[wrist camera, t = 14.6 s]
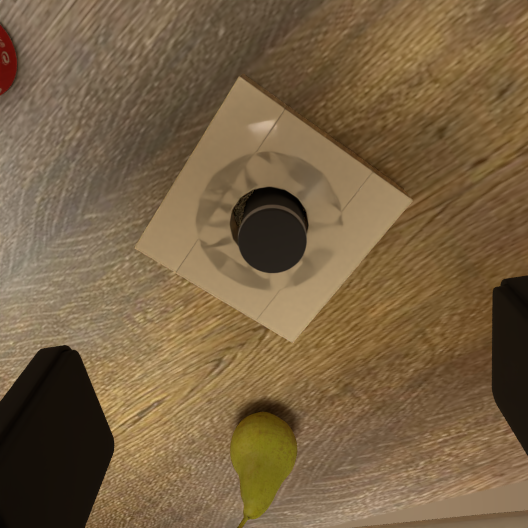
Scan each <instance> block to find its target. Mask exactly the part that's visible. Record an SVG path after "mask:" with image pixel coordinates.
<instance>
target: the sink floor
mask: <svg viewBox="0 0 528 528" xmlns="http://www.w3.org/2000/svg"><path fill="white" fill-rule="evenodd" d="M264 187H274V188H279V189H284V190H286V191H288V192H289V193H291V194H292V195H294V196H295V197H296V198H298V199H299V201H300V202H301V204H302V205H303V207H304V209H305V210H306V213H307V214H306V218H305V222H304V223H305V228H306V233H307V245H306V249H305V252H304V255H303V257H302V258H301V260H300V261H299V262H298V263H297V264H296V265H295V266H294V267H292V268H291V269H289V270H287V271H284V272H280V273H265V272H261V271H259V270H256V269H255V268H253V267H251V266H250V265H249V264H248V263H247V262H246V261H245V260H244V258H243V257H242V255H241V253H240V250H239V246H238V232H239V227H238V226H237V225H236V221H235V216H234V212H233V211H234V207H235V205H236V204H237V202H238V201H239V199H240V198H241V197H242V196H244V195H246V194H247V193H249V192H250V191H252V190H253V189H258V188H264ZM412 201H413V200H412V199H411V198H410V196H409V195H408V194H407V193H406V191H405V190H404V189H403V188H402V187H401V186H399V185H398V184H396V183H395V182H394V181H392V180H391V179H389V178H388V177H387V176H385V175H384V174H382V173H381V172H380V171H378V170H377V169H376V168H374V167H373V166H371V165H370V164H369V163H367V162H366V161H364V160H363V159H362V158H360V157H359V156H357V155H356V154H355V153H353V152H352V151H350V150H349V149H348V148H346V147H345V146H343V145H342V144H341V143H339V142H338V141H337V140H335V139H334V138H332V137H331V136H330V135H328V134H327V133H325V132H324V131H323V130H321V129H320V128H318V127H317V126H316V125H314V124H313V123H311V122H310V121H309V120H307V119H306V118H304V117H303V116H302V115H300V114H299V113H297V112H296V111H295V110H293V109H292V108H291V107H289V106H288V105H286V104H284V103H283V102H282V101H281V100H279V99H278V98H277V97H275V96H274V95H272V94H271V93H270V92H268V91H267V90H265V89H264V88H263V87H261V86H260V85H258V84H257V83H256V82H254V81H253V80H251V79H250V78H249V77H247V76H246V75H244V74H242V75H240V76H239V77H238V79H237V80H236V82H235V83H234V85H233V87H232V88H231V90H230V92H229V93H228V95H227V97H226V98H225V100H224V101H223V103H222V105H221V106H220V108H219V110H218V111H217V113H216V115H215V116H214V118H213V119H212V121H211V123H210V124H209V126H208V128H207V129H206V131H205V133H204V134H203V136H202V137H201V139H200V141H199V142H198V144H197V146H196V147H195V149H194V151H193V152H192V154H191V155H190V157H189V159H188V160H187V162H186V164H185V165H184V167H183V169H182V170H181V172H180V173H179V175H178V177H177V178H176V180H175V182H174V183H173V185H172V186H171V188H170V190H169V191H168V193H167V195H166V196H165V198H164V200H163V201H162V203H161V204H160V206H159V208H158V209H157V211H156V213H155V214H154V216H153V218H152V219H151V221H150V222H149V224H148V226H147V227H146V229H145V231H144V232H143V234H142V236H141V237H140V239H139V240H138V242H137V244H136V245H135V247H134V248H135V249H136V250H138V251H140V252H141V253H143V254H145V255H146V256H148V257H150V258H151V259H153V260H155V261H156V262H158V263H160V264H161V265H163V266H165V267H166V268H168V269H170V270H171V271H173V272H176V274H178V275H179V276H181V277H183V278H184V279H186V280H188V281H189V282H191V283H193V284H194V285H196V286H198V287H199V288H201V289H203V290H204V291H206V292H208V293H210V294H211V295H213V296H215V297H216V298H218V299H220V300H221V301H223V302H225V303H226V304H228V305H230V306H231V307H233V308H235V309H236V310H238V311H240V312H241V313H243V314H245V315H246V316H248V317H250V318H251V319H253V320H255V321H257V322H258V323H260V324H262V325H263V326H265V327H267V328H268V329H270V330H272V331H273V332H275V333H277V334H278V335H280V336H282V337H283V338H285V339H287V340H288V341H290V342H292V343H293V342H294V341H295V340H296V339H297V337H298V336H299V335H300V334H301V333H302V331H303V330H304V329H305V328H306V327H307V326H308V324H309V323H310V322H311V321H312V320H313V318H314V317H315V316H316V315H317V314H318V313H319V311H320V310H321V309H322V308H323V307H324V305H325V304H326V303H327V302H328V301H329V299H330V298H331V297H332V296H333V295H334V294H335V292H336V291H337V290H338V289H339V288H340V286H341V285H342V284H343V283H344V282H345V280H346V279H347V278H348V277H349V276H350V275H351V273H352V272H353V271H354V270H355V269H356V267H357V266H358V265H359V264H360V263H361V262H362V260H363V259H364V258H365V257H366V256H367V254H368V253H369V252H370V251H371V250H372V248H373V247H374V246H375V245H376V244H377V243H378V241H379V240H380V239H381V238H382V237H383V235H384V234H385V233H386V232H387V231H388V229H389V228H390V227H391V226H392V225H393V224H394V222H395V221H396V220H397V219H398V218H399V216H400V215H401V214H402V213H403V212H404V210H405V209H406V208H407V207H408V206H409V205H410V203H411V202H412Z"/></svg>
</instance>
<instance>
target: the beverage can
mask: <svg viewBox="0 0 528 528" xmlns="http://www.w3.org/2000/svg"><path fill="white" fill-rule="evenodd" d="M16 71H17V57H16V52H15V49H14V46H13V43H12V41H11V39H10V37H9V36H8V34H7V32H6V31H5V30H4V29H3V27H2V26H1V25H0V95H2V94H3V93H4V92H6V91H7V90H8V89H9V87H10V86H11V85H12V83H13V81H14V79H15V76H16Z"/></svg>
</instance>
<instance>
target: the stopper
mask: <svg viewBox="0 0 528 528" xmlns="http://www.w3.org/2000/svg"><path fill="white" fill-rule="evenodd" d="M306 245H307V233H306V228H305V223H304V214H303V207H302V204H301V202H300V201H299V199H298V198H296V197H295V196H294V195H292V194H291V193H289V192H288V191H286V190H284V189H279V188H274V187H264V188H259V189H257V190H256V191H254V192H253V193H252V194H251V196H250V197H249V198H248V200H247V202H246V205H245V209H244V214H243V218H242V223H241V225H240V229H239V232H238V246H239V250H240V253H241V255H242V257H243V258H244V260H245V261H246V262H247V263H248V264H249V265H250V266H251V267H253V268H255V269H256V270H259V271H261V272H265V273H280V272H284V271H287V270H289V269H291V268H292V267H294V266H295V265H296V264H297V263H298V262H299V261H300V260H301V258H302V257H303V255H304V252H305V249H306Z"/></svg>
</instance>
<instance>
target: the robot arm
mask: <svg viewBox="0 0 528 528" xmlns="http://www.w3.org/2000/svg"><path fill="white" fill-rule="evenodd" d="M492 392H493V396H494V399H495V402H496V404H497V406H498V408H499V409H500V411H501V413H502V414H503V416H504V417H505V419H506V421H507V422H508V424H509V426H510V427H511V429H512V431H513V432H514V434H515V436H516V437H517V439H518V441H519V442H520V444H521V446H522V447H523V449H524V450H525V452H526V454H527V455H528V275H527V276H521V277H514V278H508V279H503V280H502V282H501V286H499V287H495V288H494V289H493V309H492ZM113 452H114V438H113V435H112V433H111V430H110V428H109V425H108V423H107V420H106V418H105V415H104V413H103V411H102V408H101V406H100V403H99V401H98V398H97V396H96V393H95V391H94V388H93V386H92V384H91V381H90V379H89V376H88V374H87V371H86V369H85V366H84V364H83V361H82V359H81V357H80V355H79V353H78V352H77V351H76V350H72V349H71V348H70V347H69V346H67V345H62V346H56V347H49V348H43V349H40V350H39V351H38V352H37V354H36V355H35V356H34V358H33V359H32V360H31V361H30V363H29V364H28V365H27V367H26V368H25V369H24V371H23V372H22V373H21V375H20V376H19V377H18V379H17V380H16V381H15V383H14V384H13V385H12V387H11V388H10V389H9V391H8V392H7V393H6V395H5V396H4V397H3V399H2V400H1V401H0V528H85V525H86V523H87V520H88V518H89V515H90V512H91V510H92V507H93V505H94V502H95V499H96V497H97V494H98V492H99V489H100V487H101V484H102V481H103V479H104V476H105V474H106V471H107V468H108V466H109V463H110V461H111V458H112V456H113ZM355 528H528V510H526V511H515V512H504V513H493V514H481V515H472V516H462V517H452V518H442V519H432V520H422V521H413V522H403V523H393V524H383V525H374V526H364V527H355Z"/></svg>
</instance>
